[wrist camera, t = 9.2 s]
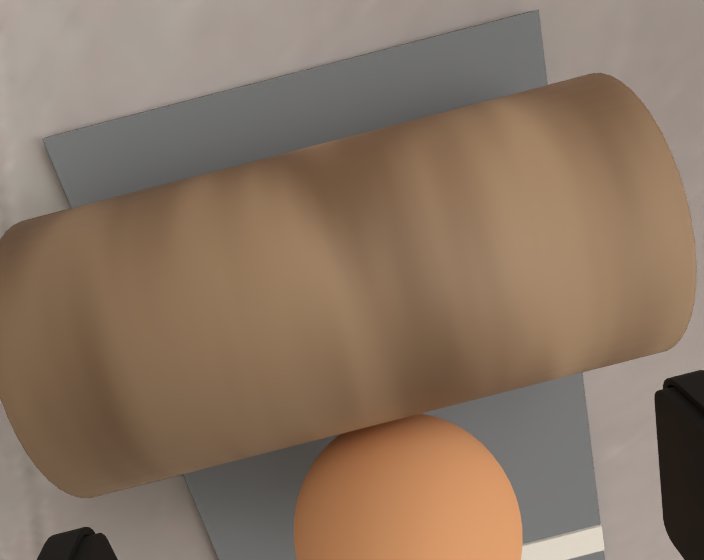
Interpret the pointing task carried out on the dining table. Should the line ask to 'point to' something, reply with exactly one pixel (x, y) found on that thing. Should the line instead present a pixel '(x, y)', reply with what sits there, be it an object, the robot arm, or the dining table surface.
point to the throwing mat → (320, 127)
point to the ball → (407, 497)
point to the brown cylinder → (343, 286)
